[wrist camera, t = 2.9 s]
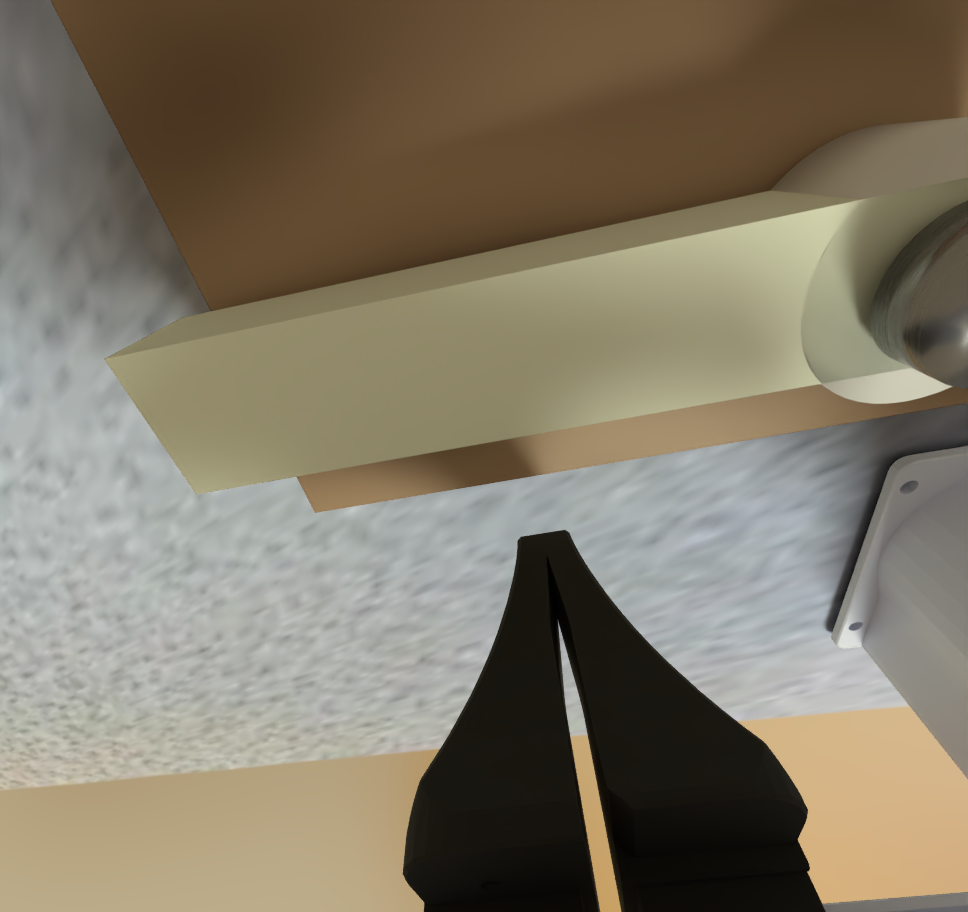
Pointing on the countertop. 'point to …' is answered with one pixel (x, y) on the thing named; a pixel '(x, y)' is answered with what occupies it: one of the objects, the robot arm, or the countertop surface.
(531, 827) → the robot arm
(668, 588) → the countertop surface
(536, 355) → the bar
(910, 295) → the cylinder
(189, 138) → the base board
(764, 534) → the countertop surface
